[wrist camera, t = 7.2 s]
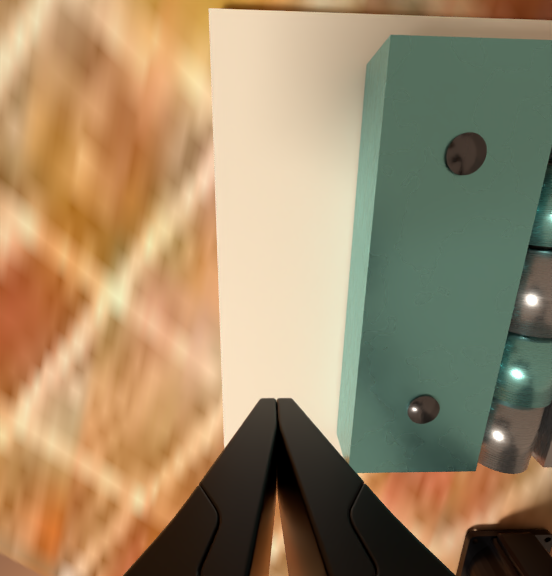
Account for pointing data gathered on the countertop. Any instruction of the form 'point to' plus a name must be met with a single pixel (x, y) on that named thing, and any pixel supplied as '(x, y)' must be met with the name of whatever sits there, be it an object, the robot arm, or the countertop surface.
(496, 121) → the teal hinge leaf
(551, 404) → the graphite hinge leaf
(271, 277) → the cream base board
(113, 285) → the countertop surface
